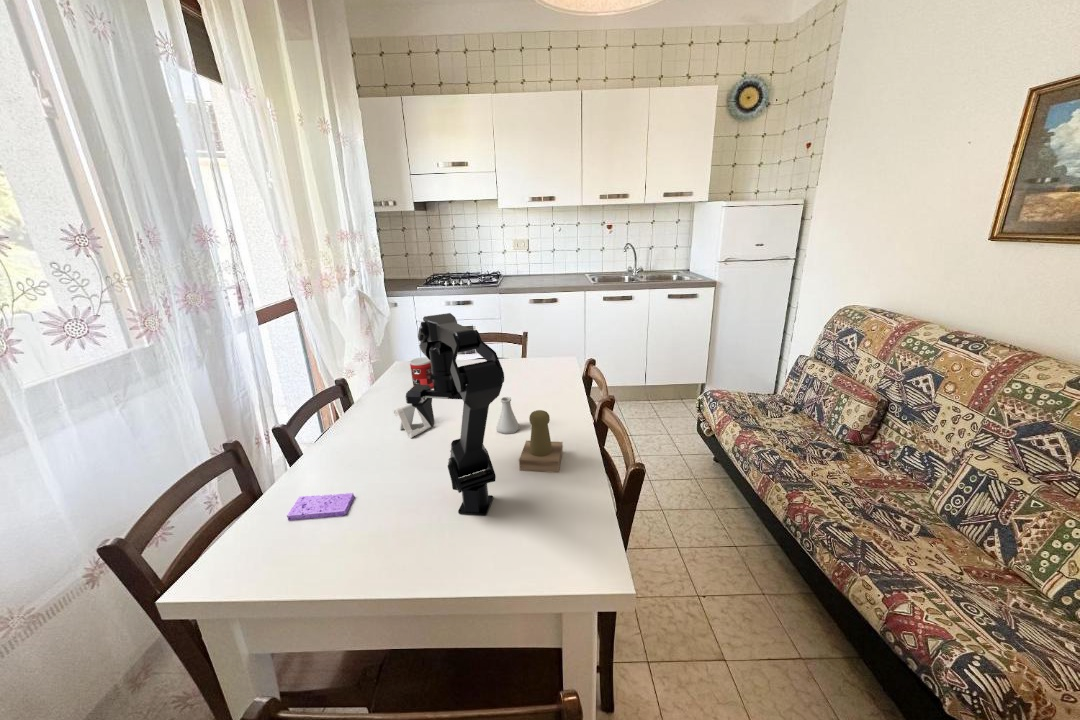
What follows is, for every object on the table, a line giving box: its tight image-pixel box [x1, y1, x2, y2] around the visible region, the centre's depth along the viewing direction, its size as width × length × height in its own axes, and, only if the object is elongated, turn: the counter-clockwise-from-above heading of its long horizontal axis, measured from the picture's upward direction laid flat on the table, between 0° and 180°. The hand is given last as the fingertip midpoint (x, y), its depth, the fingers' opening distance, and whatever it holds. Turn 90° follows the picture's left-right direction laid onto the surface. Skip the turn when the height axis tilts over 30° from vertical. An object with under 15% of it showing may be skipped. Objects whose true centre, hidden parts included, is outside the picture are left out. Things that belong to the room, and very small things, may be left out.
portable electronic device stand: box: [393, 403, 432, 439], centre depth 134 cm, size 9×8×8 cm
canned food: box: [409, 356, 434, 390], centre depth 167 cm, size 8×8×11 cm
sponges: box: [286, 492, 355, 521], centre depth 100 cm, size 7×13×2 cm, turn 95°
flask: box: [496, 396, 520, 435], centre depth 132 cm, size 7×7×10 cm
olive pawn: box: [528, 409, 552, 457], centre depth 113 cm, size 6×6×11 cm
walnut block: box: [518, 440, 564, 473], centre depth 115 cm, size 10×10×3 cm
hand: (450, 427), depth 107 cm, fingers open, 9 cm apart
